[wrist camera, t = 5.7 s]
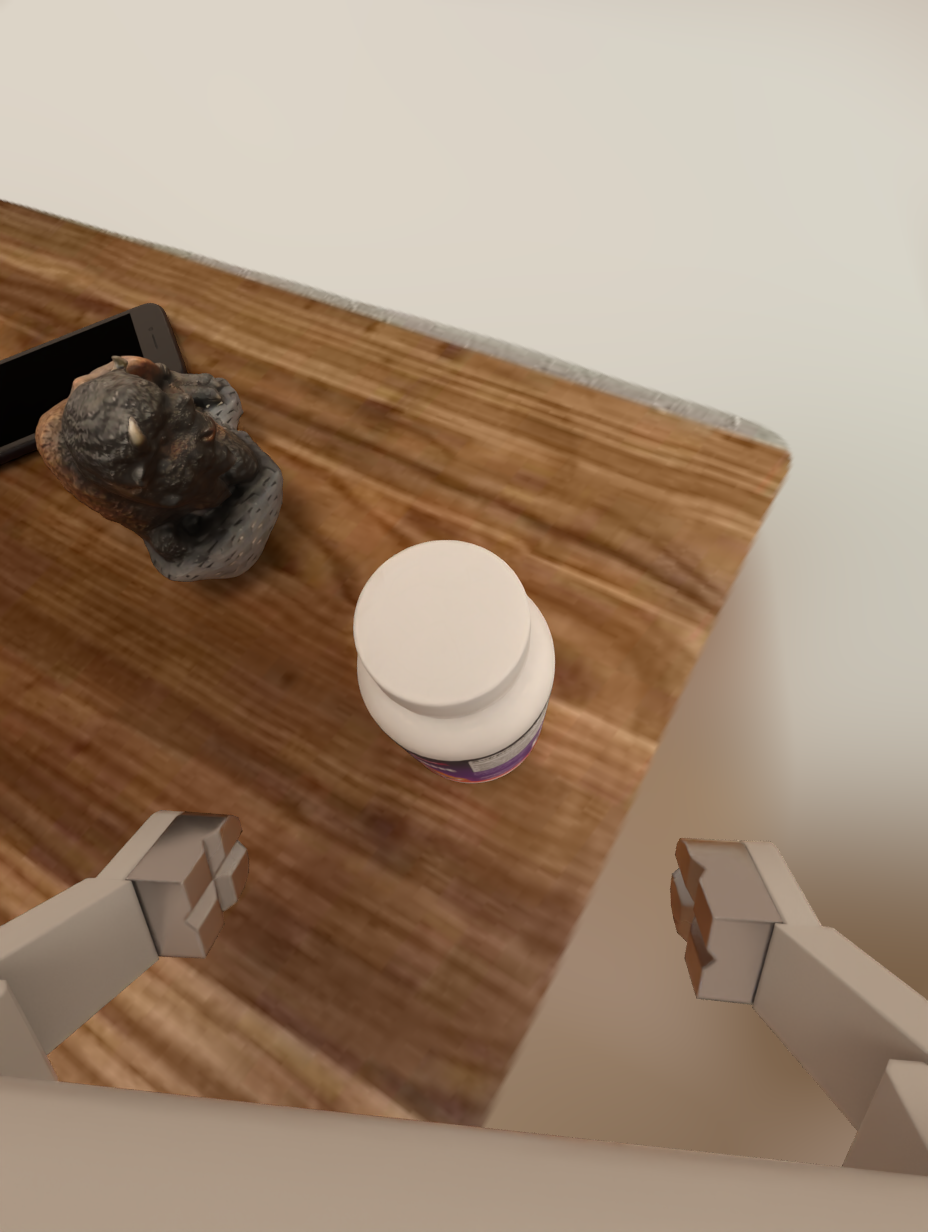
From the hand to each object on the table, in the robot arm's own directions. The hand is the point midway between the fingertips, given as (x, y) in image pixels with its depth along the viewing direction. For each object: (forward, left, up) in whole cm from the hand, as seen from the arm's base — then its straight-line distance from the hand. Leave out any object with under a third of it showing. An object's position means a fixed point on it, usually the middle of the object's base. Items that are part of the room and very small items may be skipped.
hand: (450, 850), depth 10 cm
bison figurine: (+19, -5, -10) cm, 22 cm away
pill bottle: (+3, -4, -10) cm, 11 cm away
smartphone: (+32, -4, -10) cm, 34 cm away
